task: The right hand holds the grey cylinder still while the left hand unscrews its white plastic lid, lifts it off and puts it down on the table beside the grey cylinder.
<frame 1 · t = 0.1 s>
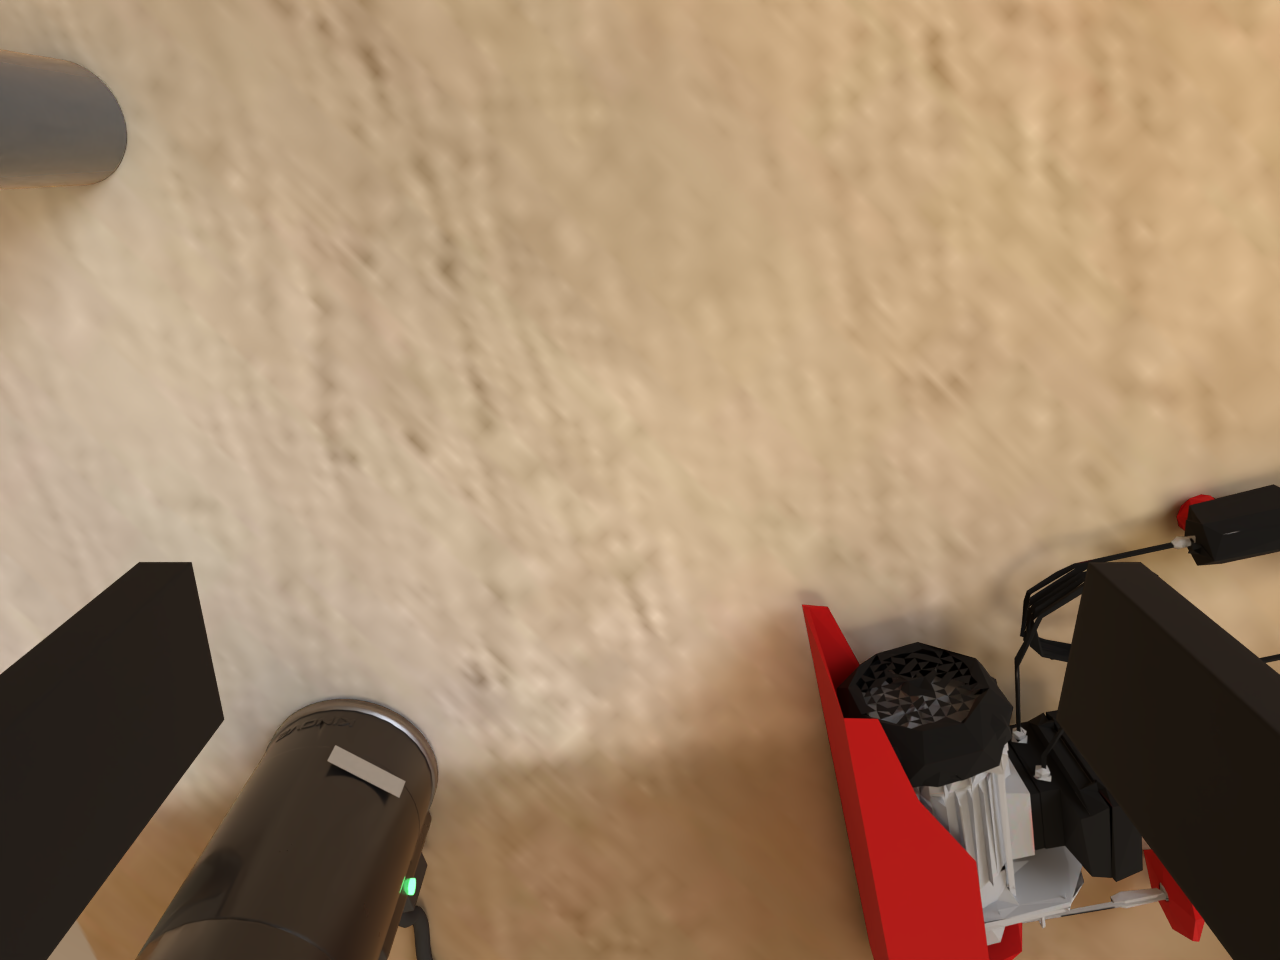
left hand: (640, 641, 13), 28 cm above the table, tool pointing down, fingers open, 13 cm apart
electric hoist: (1104, 729, 47), on the table
grey cylinder: (67, 123, 36), on the table
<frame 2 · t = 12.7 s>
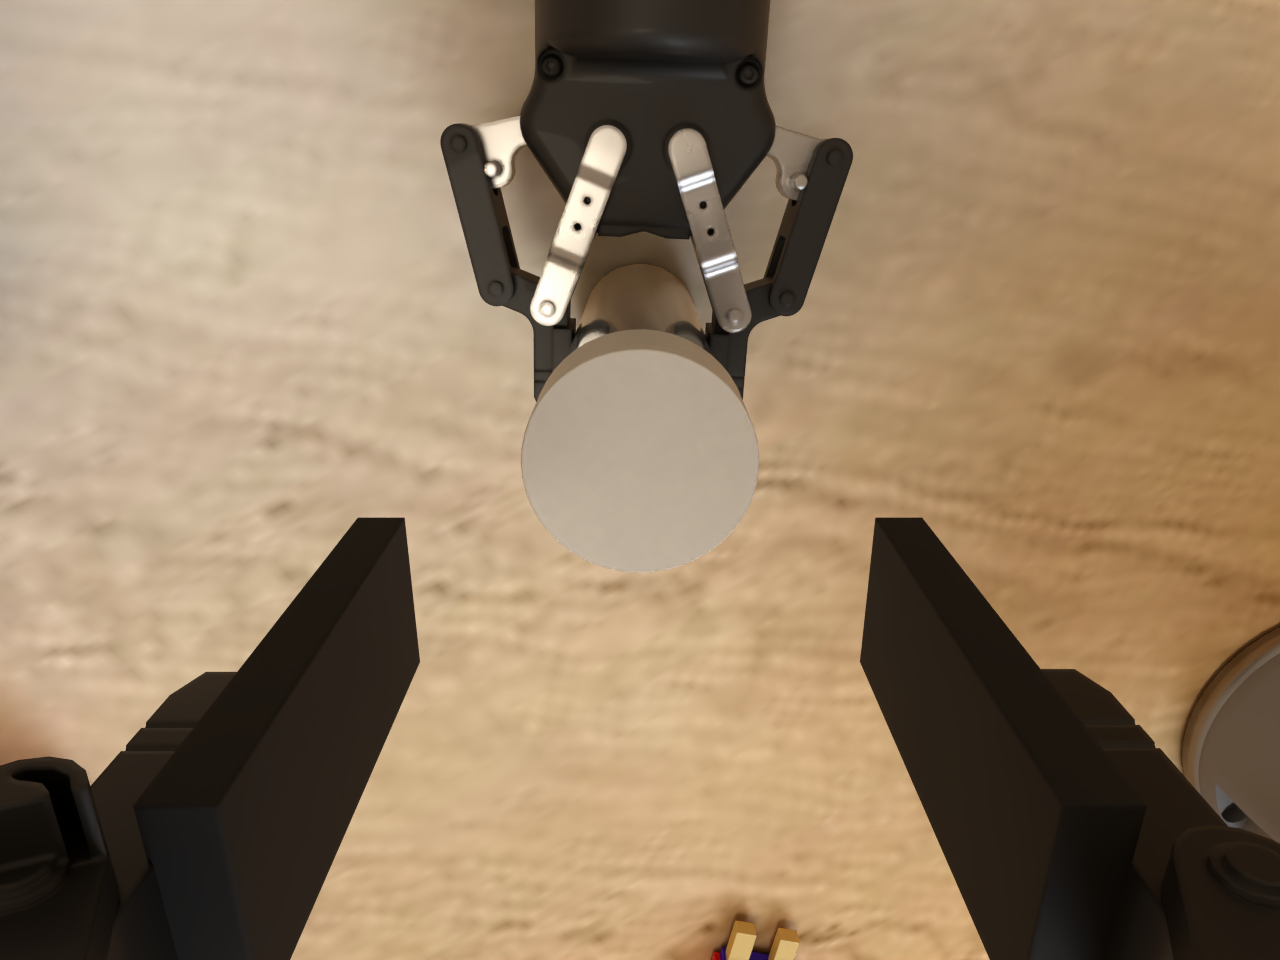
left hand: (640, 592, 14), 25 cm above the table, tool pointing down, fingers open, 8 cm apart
right hand: (636, 421, 32), fingers closed on grey cylinder, 5 cm apart
grey cylinder: (639, 320, 38), on the table, touching right hand
lid: (640, 461, 20), point 19 cm above the table, screwed on, not yet turned
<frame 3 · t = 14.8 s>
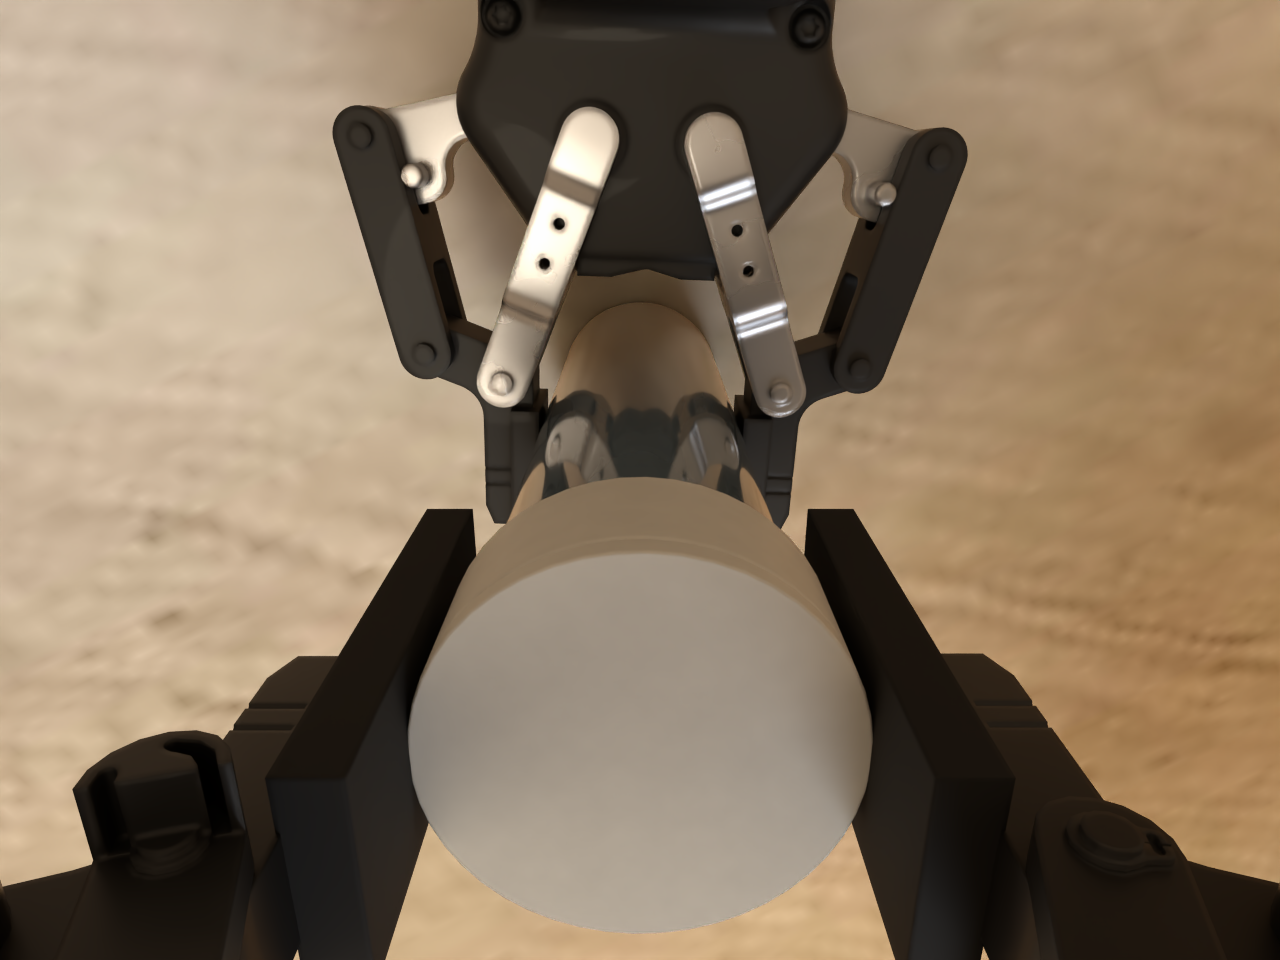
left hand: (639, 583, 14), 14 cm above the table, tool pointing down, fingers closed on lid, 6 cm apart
right hand: (635, 534, 23), fingers closed on grey cylinder, 5 cm apart
grey cylinder: (640, 377, 28), on the table, touching right hand
lid: (640, 743, 11), point 19 cm above the table, screwed on, not yet turned, touching left hand
when the left hand's fingers open (15 cm above the table, at t = 16.1 s): lid stays where it is, point 19 cm above the table.
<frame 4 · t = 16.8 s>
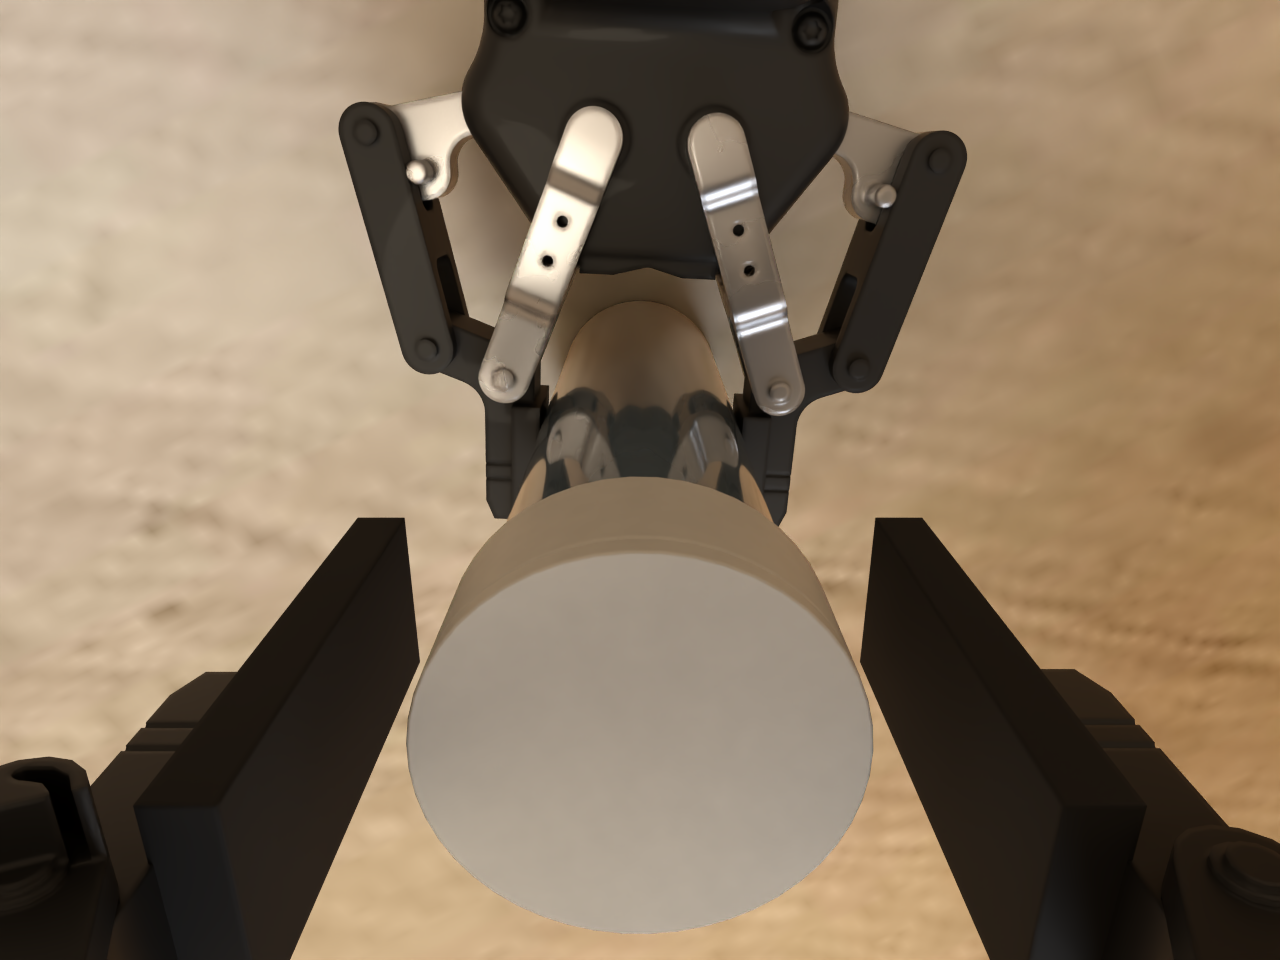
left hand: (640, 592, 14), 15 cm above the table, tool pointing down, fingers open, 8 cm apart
right hand: (634, 531, 23), fingers closed on grey cylinder, 5 cm apart
grey cylinder: (639, 375, 28), on the table, touching right hand
lid: (639, 743, 11), point 19 cm above the table, turned 73° so far, risen 0.2 cm, still on its thread
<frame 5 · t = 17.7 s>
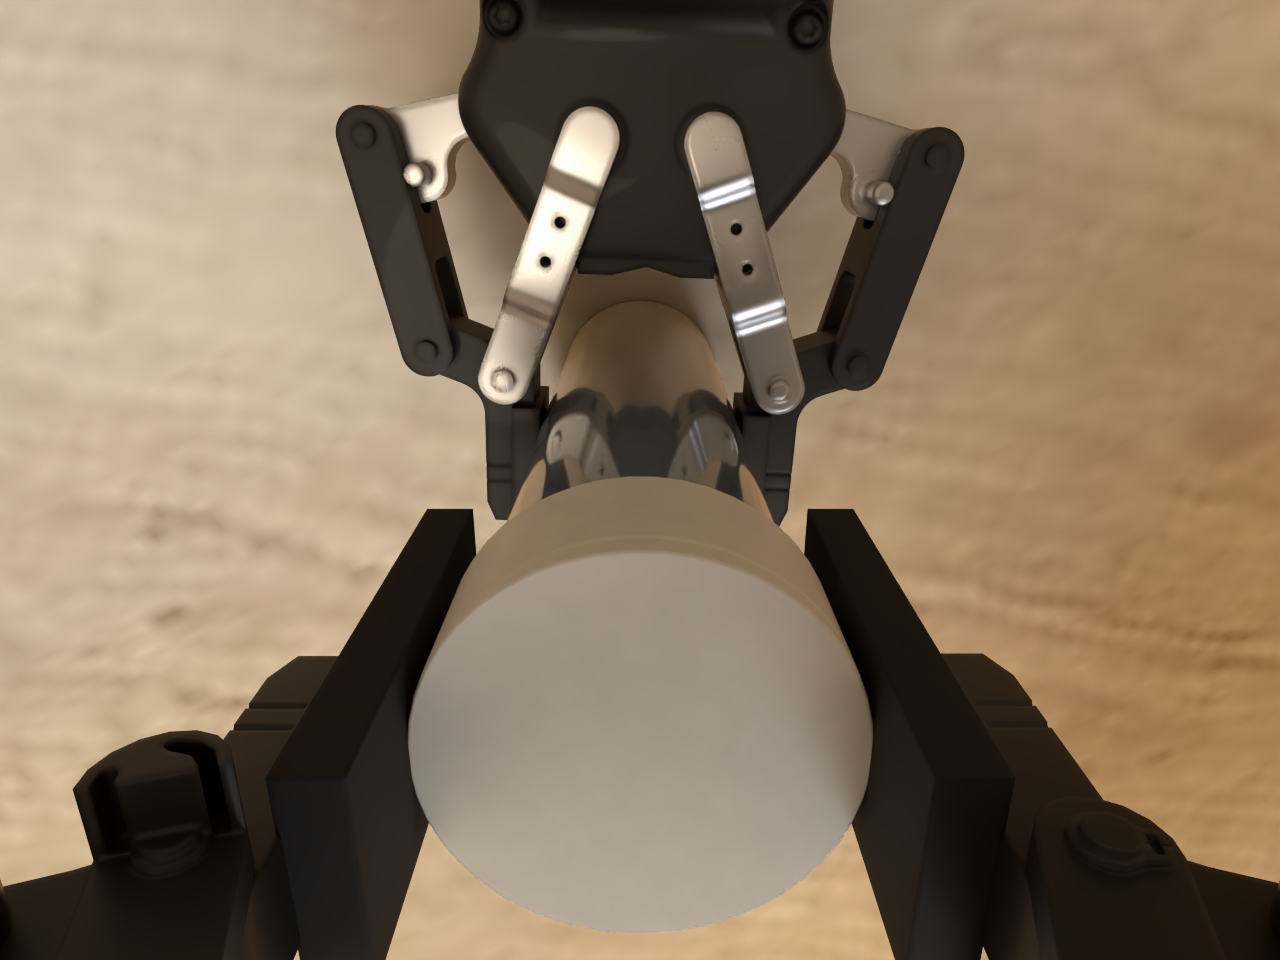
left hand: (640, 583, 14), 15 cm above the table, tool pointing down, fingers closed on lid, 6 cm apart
right hand: (635, 531, 23), fingers closed on grey cylinder, 5 cm apart
grey cylinder: (640, 375, 28), on the table, touching right hand
lid: (640, 742, 11), point 19 cm above the table, turned 73° so far, risen 0.2 cm, still on its thread, touching left hand
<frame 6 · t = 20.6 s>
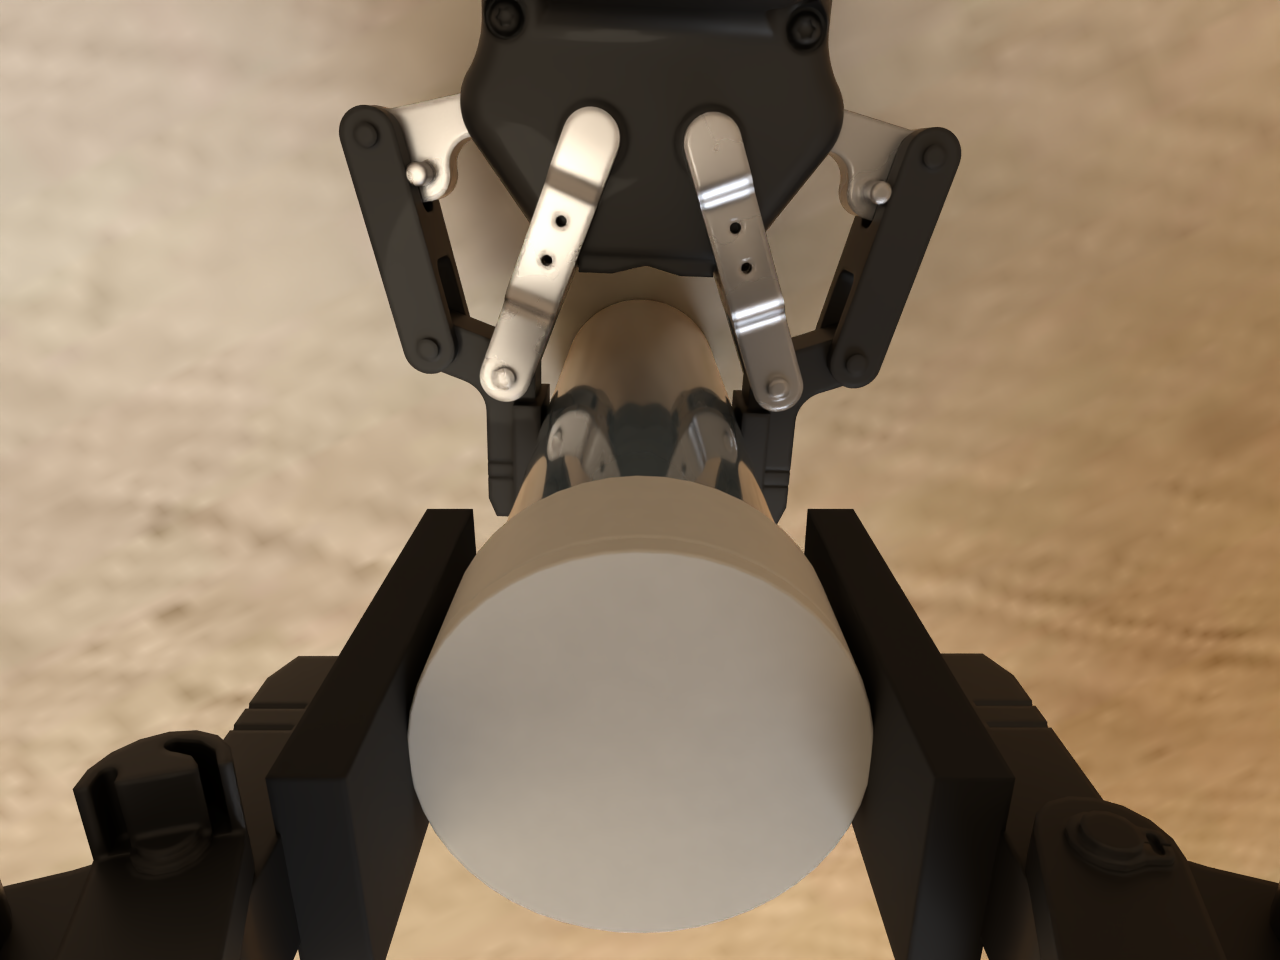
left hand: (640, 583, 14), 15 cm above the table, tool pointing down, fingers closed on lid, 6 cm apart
right hand: (635, 527, 23), fingers closed on grey cylinder, 5 cm apart
grey cylinder: (640, 373, 28), on the table, touching right hand
lid: (640, 742, 11), point 19 cm above the table, turned 145° so far, risen 0.4 cm, still on its thread, touching left hand
when the left hand's fingers open (0 cm above the table, at t = 27.3 s): lid drops 2 cm, point 2 cm above the table.
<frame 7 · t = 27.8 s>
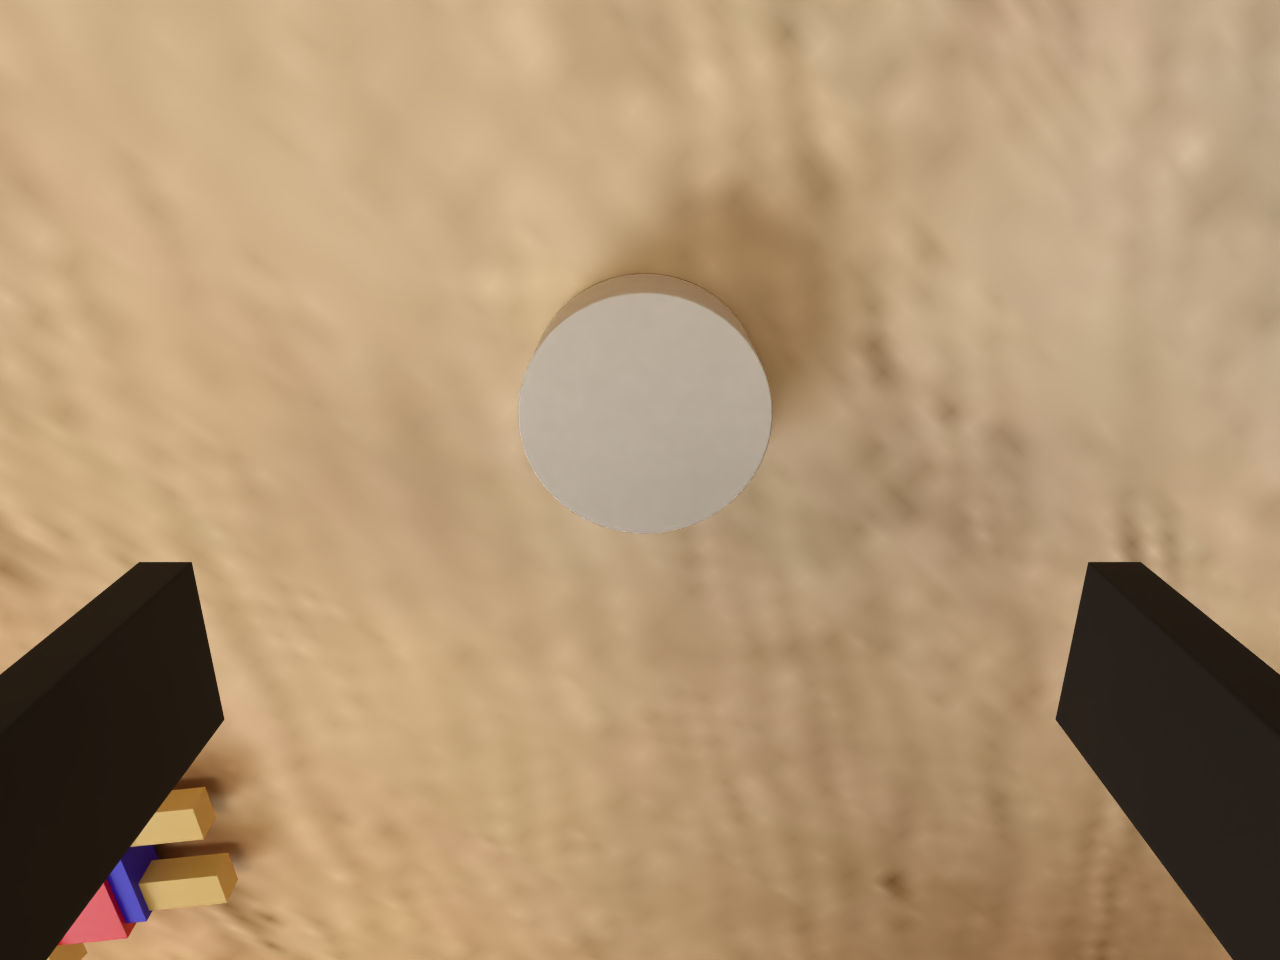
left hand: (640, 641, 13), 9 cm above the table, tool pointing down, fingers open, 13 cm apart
toy figure: (41, 834, 27), on the table
lid: (645, 415, 19), point 2 cm above the table, off its thread
when the right hand's fingers open (7 cm above the table, at t = 28.0 s): grey cylinder stays where it is, on the table.
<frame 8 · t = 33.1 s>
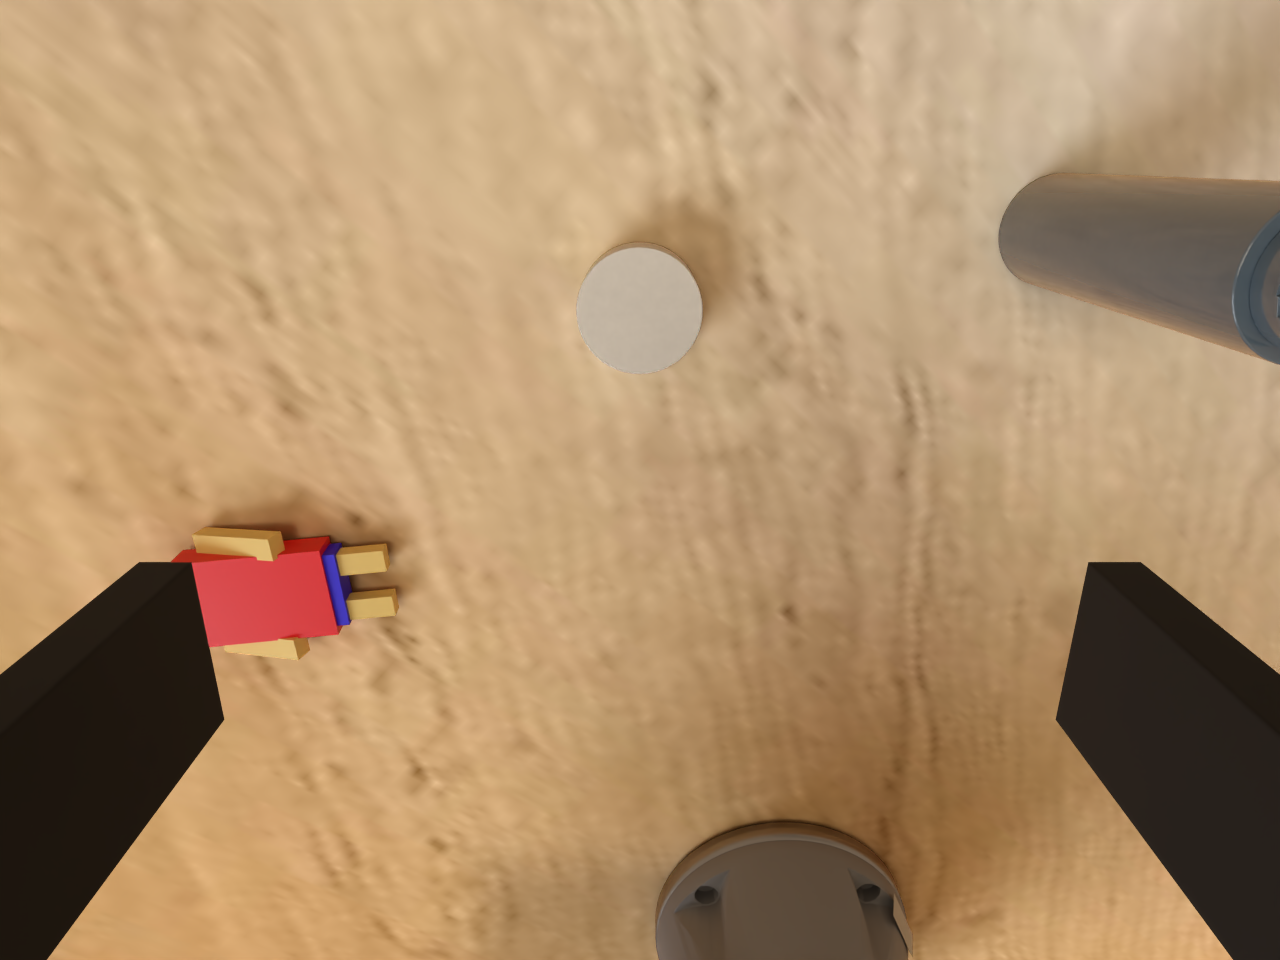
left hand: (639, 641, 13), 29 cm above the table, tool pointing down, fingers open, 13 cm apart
grey cylinder: (1053, 230, 39), on the table
toy figure: (283, 580, 45), on the table
lid: (639, 310, 38), point 2 cm above the table, off its thread
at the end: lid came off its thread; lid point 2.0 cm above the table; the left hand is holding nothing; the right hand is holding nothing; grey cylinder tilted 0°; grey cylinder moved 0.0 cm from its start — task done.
